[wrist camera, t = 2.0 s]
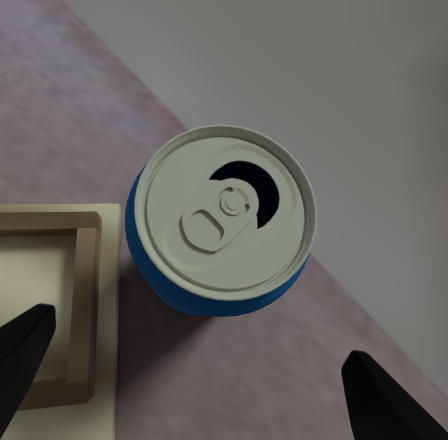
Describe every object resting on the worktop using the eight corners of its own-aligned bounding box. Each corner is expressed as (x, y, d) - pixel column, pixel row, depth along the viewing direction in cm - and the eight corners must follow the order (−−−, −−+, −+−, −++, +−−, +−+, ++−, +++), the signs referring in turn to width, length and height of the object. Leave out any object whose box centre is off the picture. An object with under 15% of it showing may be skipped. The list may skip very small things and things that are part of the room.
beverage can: (263, 266, 21) (368, 213, 10) (195, 337, 19) (230, 372, 8) (199, 200, 22) (229, 79, 11) (127, 262, 20) (68, 195, 9)
